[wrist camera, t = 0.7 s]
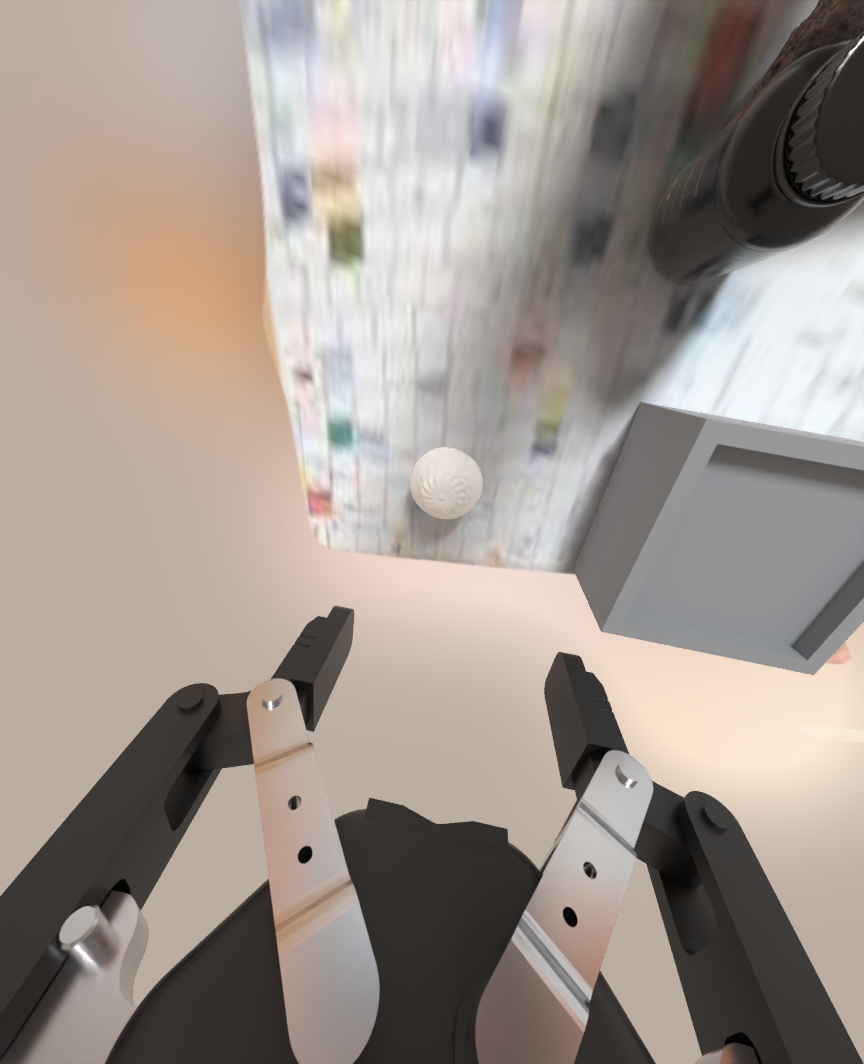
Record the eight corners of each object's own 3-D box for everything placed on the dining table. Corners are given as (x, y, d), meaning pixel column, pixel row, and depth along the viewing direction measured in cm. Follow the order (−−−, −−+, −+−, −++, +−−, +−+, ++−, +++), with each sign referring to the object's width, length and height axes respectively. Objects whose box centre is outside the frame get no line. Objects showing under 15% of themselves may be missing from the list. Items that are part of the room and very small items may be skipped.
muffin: (410, 444, 32) (393, 464, 25) (478, 433, 30) (478, 452, 24) (423, 507, 34) (410, 540, 28) (486, 499, 33) (487, 532, 27)
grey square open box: (639, 401, 28) (706, 418, 20) (843, 438, 27) (1003, 471, 19) (572, 567, 35) (601, 631, 27) (733, 599, 35) (813, 675, 26)
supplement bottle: (790, 181, 22) (1096, 3, 11) (708, 302, 25) (885, 257, 14) (694, 128, 21) (914, -112, 10) (623, 259, 24) (737, 177, 13)
